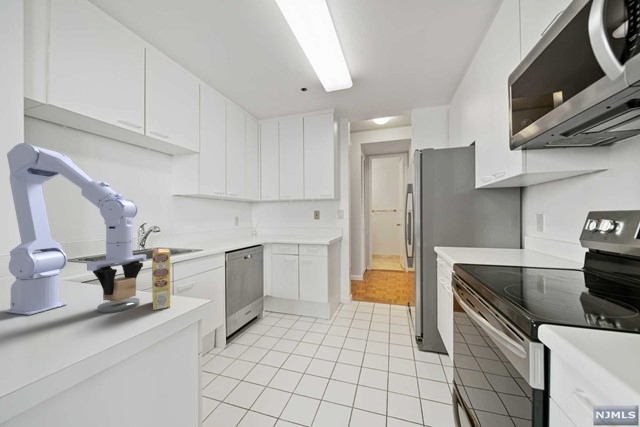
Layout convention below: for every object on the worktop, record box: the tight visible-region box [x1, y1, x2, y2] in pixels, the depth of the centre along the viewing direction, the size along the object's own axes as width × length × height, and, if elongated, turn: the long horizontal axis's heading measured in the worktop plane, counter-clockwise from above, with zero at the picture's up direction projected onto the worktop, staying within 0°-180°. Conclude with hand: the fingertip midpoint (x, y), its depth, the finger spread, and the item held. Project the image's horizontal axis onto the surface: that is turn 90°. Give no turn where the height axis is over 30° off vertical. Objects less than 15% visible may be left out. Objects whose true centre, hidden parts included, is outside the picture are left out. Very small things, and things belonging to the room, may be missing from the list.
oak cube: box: [102, 276, 137, 302], centre depth 68 cm, size 5×5×5 cm
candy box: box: [151, 248, 171, 311], centre depth 70 cm, size 9×4×15 cm, turn 33°
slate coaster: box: [96, 297, 140, 314], centre depth 68 cm, size 9×9×1 cm
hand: (119, 291), depth 68 cm, fingers closed on oak cube, 5 cm apart
